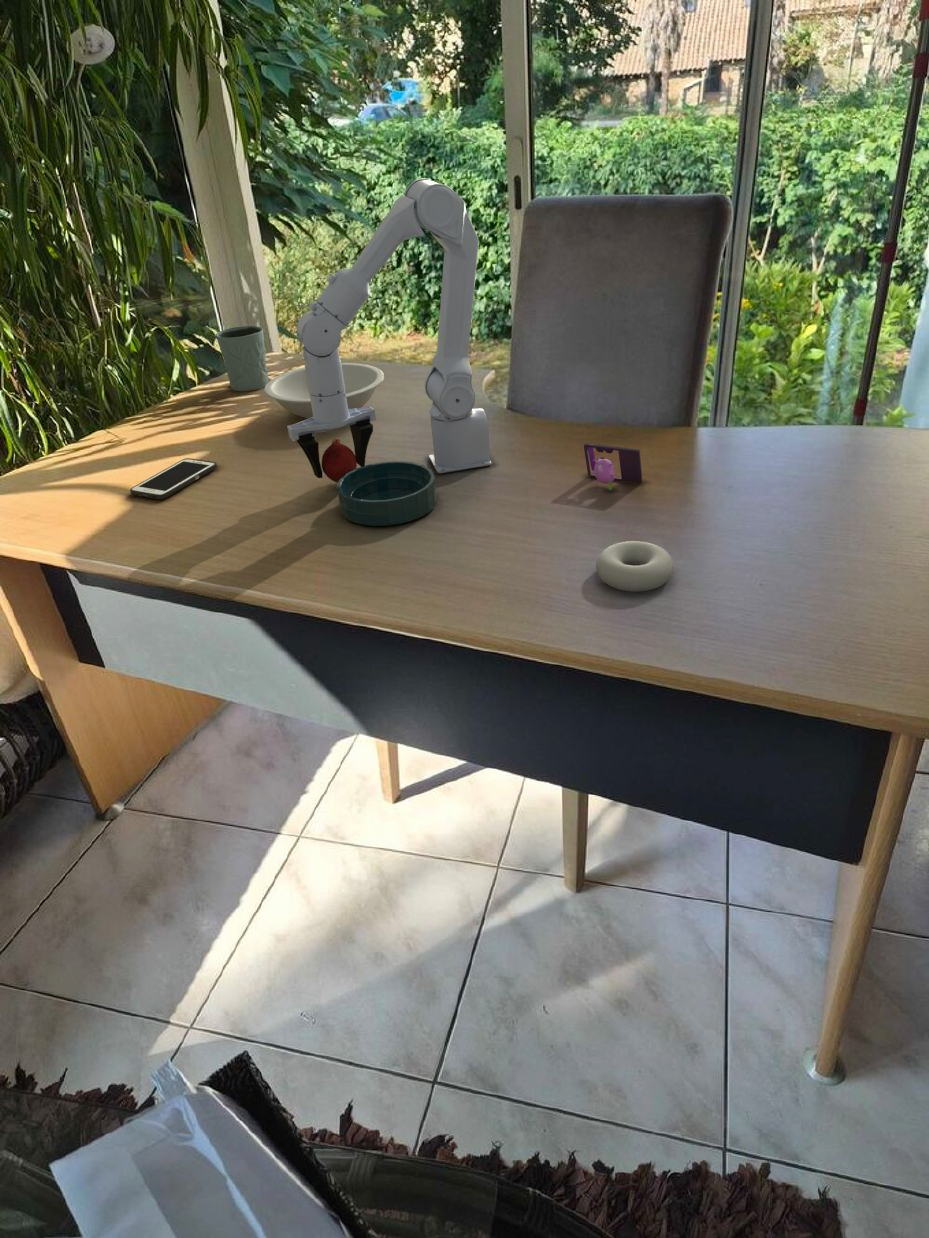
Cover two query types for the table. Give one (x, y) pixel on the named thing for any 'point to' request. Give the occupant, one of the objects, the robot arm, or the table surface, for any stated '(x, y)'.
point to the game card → (604, 467)
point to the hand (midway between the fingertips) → (339, 470)
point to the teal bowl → (387, 493)
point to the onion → (338, 461)
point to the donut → (634, 566)
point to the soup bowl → (295, 391)
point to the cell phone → (173, 478)
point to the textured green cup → (244, 357)
